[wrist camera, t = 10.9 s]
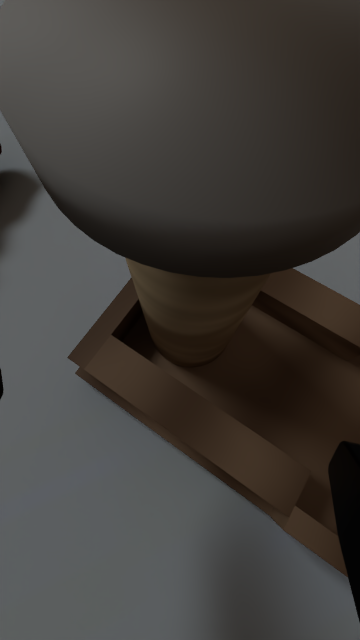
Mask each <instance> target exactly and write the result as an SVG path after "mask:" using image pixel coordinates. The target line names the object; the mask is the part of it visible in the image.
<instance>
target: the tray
mask: <svg viewBox="0 0 360 640" xmlns="http://www.w3.org/2000/svg"><path fill="white" fill-rule="evenodd" d="M67 358H69V359H70V360H71V361H73V362H74V363H76V364H77V365H78V366H80V367H79V369H78V370H77V371H76V373H75V374H77V375H78V376H79V377H81V378H82V379H83V380H85V381H86V382H88V383H89V384H90V385H92V386H93V387H94V388H96V389H97V390H98V391H100V392H101V393H103V394H104V395H105V396H107V397H108V398H109V399H111V400H112V401H114V402H115V403H116V404H118V405H119V406H120V407H122V408H123V409H125V410H126V411H127V412H129V413H130V414H131V415H133V416H134V417H135V418H137V419H138V420H140V421H141V422H142V423H144V424H145V425H146V426H148V427H149V428H151V429H152V430H153V431H155V432H156V433H157V434H159V435H160V436H162V437H163V438H164V439H166V440H167V441H168V442H170V443H171V444H172V445H174V446H175V447H177V448H178V449H179V450H181V451H182V452H183V453H185V454H186V455H188V456H189V457H190V458H192V459H193V460H194V461H196V462H197V463H198V464H200V465H201V466H203V467H204V468H205V469H207V470H208V471H209V472H211V473H212V474H214V475H215V476H216V477H218V478H219V479H220V480H222V481H223V482H225V483H226V484H227V485H229V486H230V487H231V488H233V489H234V490H235V491H237V492H238V493H240V494H241V495H242V496H244V497H245V498H246V499H248V500H249V501H251V502H252V503H253V504H255V505H256V506H257V507H259V508H260V509H262V510H263V511H264V512H266V513H267V514H268V515H270V516H271V518H272V519H273V520H274V521H275V522H276V523H277V524H278V525H279V526H280V527H281V528H282V529H283V530H284V531H285V532H287V533H288V534H289V535H291V536H292V537H294V538H295V539H296V540H298V541H299V542H300V543H302V544H303V545H304V546H306V547H307V548H309V549H310V550H311V551H313V552H314V553H315V554H317V555H318V556H319V557H321V558H322V559H324V560H325V561H326V562H328V563H329V564H330V565H332V566H333V567H334V568H336V569H337V570H339V571H340V572H341V573H343V574H344V575H345V576H347V577H348V575H347V571H346V567H345V563H344V559H343V555H342V551H341V547H340V543H339V538H338V533H337V527H336V521H335V514H334V508H333V501H332V495H331V488H330V482H329V475H328V466H329V462H330V460H331V458H332V456H333V454H334V452H335V450H336V449H337V447H338V445H339V443H340V442H342V441H348V442H353V443H357V444H360V305H359V304H357V303H355V302H353V301H352V300H350V299H348V298H346V297H344V296H342V295H341V294H339V293H337V292H335V291H333V290H332V289H330V288H328V287H326V286H324V285H322V284H321V283H319V282H317V281H315V280H313V279H311V278H310V277H308V276H306V275H304V274H302V273H300V272H299V271H297V270H295V269H293V268H291V269H288V270H284V271H279V272H274V273H271V274H270V276H269V277H268V279H267V281H266V282H265V284H264V286H263V287H262V289H261V291H260V292H259V294H258V295H257V297H256V299H255V300H254V302H253V304H252V305H251V307H250V309H249V310H248V312H247V313H246V315H245V317H244V318H243V320H242V322H241V323H240V325H239V327H238V328H237V330H236V331H235V333H234V335H233V336H232V338H231V340H230V341H229V343H228V345H227V346H226V348H225V349H224V351H223V352H222V353H221V355H220V356H219V357H218V358H216V359H215V360H214V361H212V362H210V363H208V364H206V365H203V366H199V367H183V366H179V365H176V364H173V363H171V362H170V361H168V360H166V359H165V358H164V357H163V356H162V355H161V354H160V353H159V352H158V350H157V349H156V348H155V346H154V344H153V341H152V338H151V335H150V332H149V329H148V326H147V323H146V320H145V316H144V313H143V310H142V307H141V304H140V301H139V298H138V295H137V292H136V289H135V286H134V283H133V280H132V278H131V279H130V280H129V281H128V283H127V284H126V285H125V286H124V288H123V289H122V290H121V291H120V293H119V294H118V295H117V296H116V298H115V299H114V300H113V301H112V303H111V304H110V305H109V306H108V308H107V309H106V310H105V311H104V313H103V314H102V315H101V316H100V318H99V319H98V320H97V321H96V323H95V324H94V325H93V326H92V328H91V329H90V330H89V331H88V333H87V334H86V335H85V336H84V337H83V339H82V340H81V341H80V342H79V344H78V345H77V346H76V347H75V349H74V350H73V351H72V352H71V354H70V355H69V356H68V357H67Z"/></svg>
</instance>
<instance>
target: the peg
mask: <svg viewBox="0 0 360 640" xmlns="http://www.w3.org/2000/svg"><path fill="white" fill-rule="evenodd" d="M0 110H1V112H2V114H3V116H4V118H5V119H6V121H7V123H8V125H9V126H10V128H11V130H12V132H13V133H14V135H15V137H16V139H17V140H18V142H19V144H20V146H21V147H22V149H23V151H24V153H25V154H26V156H27V158H28V160H29V161H30V163H31V165H32V167H33V168H34V170H35V172H36V174H37V175H38V177H39V179H40V181H41V182H42V184H43V186H44V188H45V189H46V191H47V192H48V194H49V195H50V197H51V198H52V200H53V201H54V203H55V204H56V206H57V207H58V208H59V209H60V211H61V212H62V213H63V214H64V215H65V216H66V217H67V218H68V219H69V220H70V221H71V222H72V223H73V224H74V225H75V226H76V227H77V228H79V229H80V230H81V231H83V232H84V233H85V234H86V235H88V236H89V237H90V238H91V239H93V240H94V241H96V242H97V243H99V244H101V245H103V246H104V247H106V248H108V249H110V250H111V251H113V252H115V253H116V254H119V255H121V256H123V257H125V258H126V261H127V264H128V267H129V270H130V273H131V276H132V280H133V283H134V286H135V289H136V292H137V295H138V298H139V301H140V304H141V307H142V310H143V313H144V316H145V320H146V323H147V326H148V329H149V332H150V335H151V338H152V341H153V344H154V346H155V348H156V349H157V350H158V352H159V353H160V354H161V355H162V356H163V357H164V358H165V359H166V360H168V361H170V362H171V363H173V364H176V365H179V366H183V367H199V366H203V365H206V364H208V363H210V362H212V361H214V360H215V359H216V358H218V357H219V356H220V355H221V353H222V352H223V351H224V349H225V348H226V346H227V345H228V343H229V341H230V340H231V338H232V336H233V335H234V333H235V331H236V330H237V328H238V327H239V325H240V323H241V322H242V320H243V318H244V317H245V315H246V313H247V312H248V310H249V309H250V307H251V305H252V304H253V302H254V300H255V299H256V297H257V295H258V294H259V292H260V291H261V289H262V287H263V286H264V284H265V282H266V281H267V279H268V277H269V276H270V274H271V273H274V272H279V271H284V270H288V269H291V268H294V267H297V266H300V265H302V264H305V263H308V262H311V261H313V260H315V259H318V258H320V257H322V256H324V255H326V254H328V253H330V252H332V251H334V250H335V249H337V248H338V247H340V246H341V245H343V244H344V243H346V242H347V241H349V240H350V239H351V238H353V237H354V236H356V235H357V234H358V233H359V232H360V0H5V2H4V3H3V5H2V6H1V8H0Z"/></svg>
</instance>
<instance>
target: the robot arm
mask: <svg viewBox="0 0 360 640" xmlns="http://www.w3.org/2000/svg"><path fill="white" fill-rule="evenodd" d="M2 395H3V382H2V375H1V369H0V399H1V397H2ZM328 475H329V482H330V488H331V495H332V501H333V508H334V514H335V521H336V527H337V533H338V538H339V543H340V547H341V551H342V555H343V559H344V563H345V567H346V571H347V575H348V579H349V582H350V586H351V590H352V594H353V598H354V602H355V606H356V610H357V614H358V618H359V621H360V444H357V443H353V442H348V441H342V442H340V443H339V445H338V447H337V449H336V450H335V452H334V454H333V456H332V458H331V460H330V462H329V466H328Z"/></svg>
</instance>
